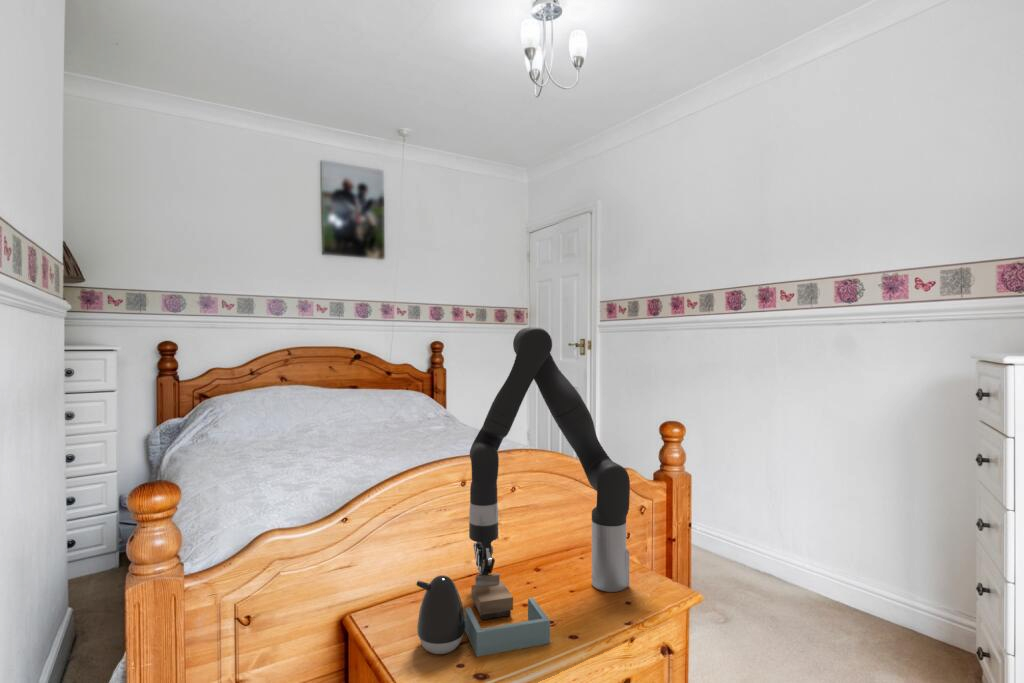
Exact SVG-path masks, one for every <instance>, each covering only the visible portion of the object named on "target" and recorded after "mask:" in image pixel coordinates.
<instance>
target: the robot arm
mask: <svg viewBox="0 0 1024 683" xmlns="http://www.w3.org/2000/svg"><path fill="white" fill-rule="evenodd" d="M512 345H513V351H514V353H515V354H516V355H515V359H514V362H513V365H512V367H511V369H510V372H509V373H508V376H507V377H506V379H505V381H504V383H503V385H502V386H501V388H500V389H499V390H498V392H497V393H496V395H495V397H494V399H493V401H492V403H491V406H490V408H489V410H488V412H487V414H486V417H485V419H484V422H483V425H482V426H481V428H480V430H479V431H478V433H477V435H476V436H475V439H474V441H473V442H472V443H471V444H472V445H471V448H469V449H470V450H469V458H470V463H471V465H470V466H471V483H470V490H469V491H470V492H469V494H470V496H469V500H470V502H469V512H468V521H469V522H468V523H469V524H468V532H469V533H468V536H469V539H470V540H471V541H473V542H474V543H473V551H474V558H475V564H476V565H475V566H476V567H477V572H478V576H482V575H489V574H493V573H492V572H493V570H494V566H495V562H496V559H495V557H493V553H494V546H492V542H494V541H496V540H497V539H498V538H499V506H498V505H499V504H498V478H499V476H498V475H499V467H500V466H499V462H500V461H499V460H500V459H499V453H498V451H499V449H500V446H501V444H502V442H503V440H504V438H506V437H507V436H508V434H509V432H510V431H511V429H512V426H513V424H514V421H515V419H516V417H517V415H518V412H519V410H520V408H521V406H522V403H523V402H524V399H525V396H526V395H527V392H528V391H529V388H530V386H531V384H533V382H535V384H536V385H537V388H538V390H539V392H540V394H541V396H542V399H543V400H544V402H545V405H546V406H547V409H548V410H549V412H550V413H551V414H550V415H551V416H552V417H553V419H554V422H555V423H556V425H557V426H558V428H559V430H560V431H561V433H562V434H563V436H564V438H565V439H566V441H567V442H568V444H569V446H570V447H571V448H572V449H573V451H574V452H575V454H576V456H577V458H578V460H579V463H580V464H581V467H582V469H583V471H584V474H585V477H586V478H587V480H588V483H589V485H590V486H591V487H592V488H593V489H594V490H595V491H596V507H594V508H593V509H592V510H591V585H592V586H593V587H594V588H595V589H597V590H598V591H602V592H607V593H608V592H609V593H615V592H621V591H623V590H625V589H626V588H629V587H630V550H628V549H627V515H628V513H629V511H630V510H629V509H630V498H631V496H630V493H631V491H630V490H631V481H630V475H629V473H628V471H627V470H626V468H625V467H623V466H622V465H620V464H619V463H617V462H615V461H613V460H612V459H611V458H610V456H609V455H608V454H607V452H606V451H605V449H604V447H603V446H602V444H601V442H600V441H599V439H598V437H597V431H596V429H595V427H596V426H595V423H594V420H593V417H592V415H591V412H590V411H589V409H588V407H587V405H586V403H585V402H584V400H583V398H582V396H581V395H580V393H579V391H577V389H576V388H575V387H574V385H573V384H572V383H571V381H570V380H568V378H567V377H566V376H565V375H564V374H563V372H562V371H561V370H560V369H559V367H558V365H557V364H556V361H555V360H554V358H553V356H552V354H551V352H552V348H553V340H552V338H551V335H550V334H549V332H548V331H546V329H544V328H541V327H536V326H534V327H533V326H531V327H523V328H522V329H520V330H518V331H517V333H515V335H514V338H513V343H512Z"/></svg>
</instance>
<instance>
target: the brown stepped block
mask: <svg viewBox="0 0 1024 683" xmlns="http://www.w3.org/2000/svg"><path fill="white" fill-rule="evenodd" d="M474 579H475V580H474V581H475V582H474V585H471V587H470V588H471V589H470V590H471V594H470V595H471V599H472V601H473V605H474V606H473V607H474V608H475V609H476V610H477V611H478V614H479V617H480V620H481V621H482V620H483V621H484V620H490V619H495V618H501V617H502V618H503V617H508V616H511V611H513V610H514V596H513V595H512V593H511V592H510V590H509V589H508V588H507V586H506V585H505V583H504V582H503V581H500V573H499V572H498V573H490V574H489V575H482V576H479V575H476V576H475V578H474Z"/></svg>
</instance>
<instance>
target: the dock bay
mask: <svg viewBox="0 0 1024 683" xmlns="http://www.w3.org/2000/svg"><path fill="white" fill-rule="evenodd" d="M464 618H465V633H466V635H467V638H468V640H469V642H470V645H471V647H472V650H473V651H474V653H475V655H476V657H483V656H489V655H492V654H498V653H503V652H509V651H514V650H520V649H526V648H531V647H536V646H537V647H538V646H543V645H548V644H551V619H550V618H549V617H548V616H547V614H546V613H545V612H544V610H543V609H542V608H541V606H540V605H539V604H538V603H537V601H536V600H535V598H533V597H527V620H526V621H521V622H520V621H519V622H513V623H509V624H502V625H501V624H500V625H495V626H489V627H484V628H483V627H482V628H481V626H480V624H479V621H478V619H477V617H476V615H475V614H474V612H473V610H472V608H471V606H469V607H465V608H464Z"/></svg>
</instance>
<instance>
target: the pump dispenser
mask: <svg viewBox="0 0 1024 683" xmlns="http://www.w3.org/2000/svg"><path fill="white" fill-rule="evenodd" d="M415 585H416V586H417V587H419V588H421V589H423V590H425V593H424V594H423V597H422V600H421V604H420V607H419V612H418V617H417V618H418V620H417V629H416V630H417V631H416V632H417V633H416V634H417V636H418V637H419V641H420V643H421V645H422V648H424V649H425V650H426V651H428V652H429V653H431V654H434V655H444V654H449V653H450V652H453V651H454V650H455V649H457V647H459V645H460V644H461V642H462V639H463V636H464V634H465V633H466V631H465V610H464V607H463V606H464V605H463V602H462V599H461V596H460V593H459V590H458V588H457V587H456V584H455V583H454V581H453V579H451V577H449V576H447V575H437V576H435V577H434V578H432V579H431V581H430V582H425V581H421V580H417V581H416V583H415Z"/></svg>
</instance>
